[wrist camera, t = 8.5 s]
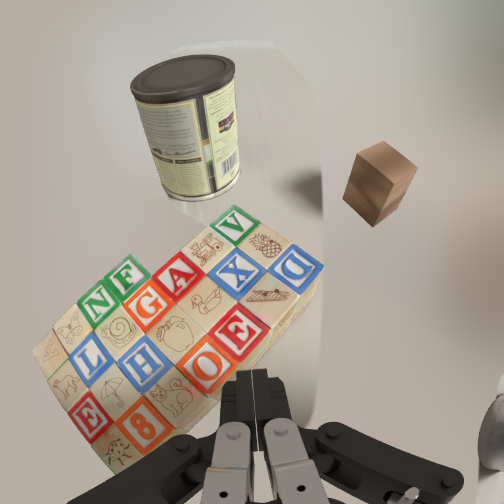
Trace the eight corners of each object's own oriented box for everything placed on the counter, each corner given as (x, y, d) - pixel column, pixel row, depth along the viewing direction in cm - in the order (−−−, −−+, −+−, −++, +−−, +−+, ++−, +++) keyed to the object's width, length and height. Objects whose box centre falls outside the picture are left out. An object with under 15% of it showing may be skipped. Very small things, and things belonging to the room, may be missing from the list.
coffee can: (172, 148, 37) (151, 59, 25) (244, 147, 37) (240, 51, 25) (150, 202, 32) (112, 100, 20) (236, 203, 31) (226, 88, 19)
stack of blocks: (313, 299, 25) (218, 227, 30) (328, 266, 20) (209, 185, 24) (148, 467, 17) (69, 366, 22) (116, 480, 12) (29, 349, 16)
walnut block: (396, 209, 31) (418, 167, 25) (372, 227, 30) (394, 183, 24) (367, 183, 33) (383, 140, 27) (342, 198, 32) (356, 153, 26)
